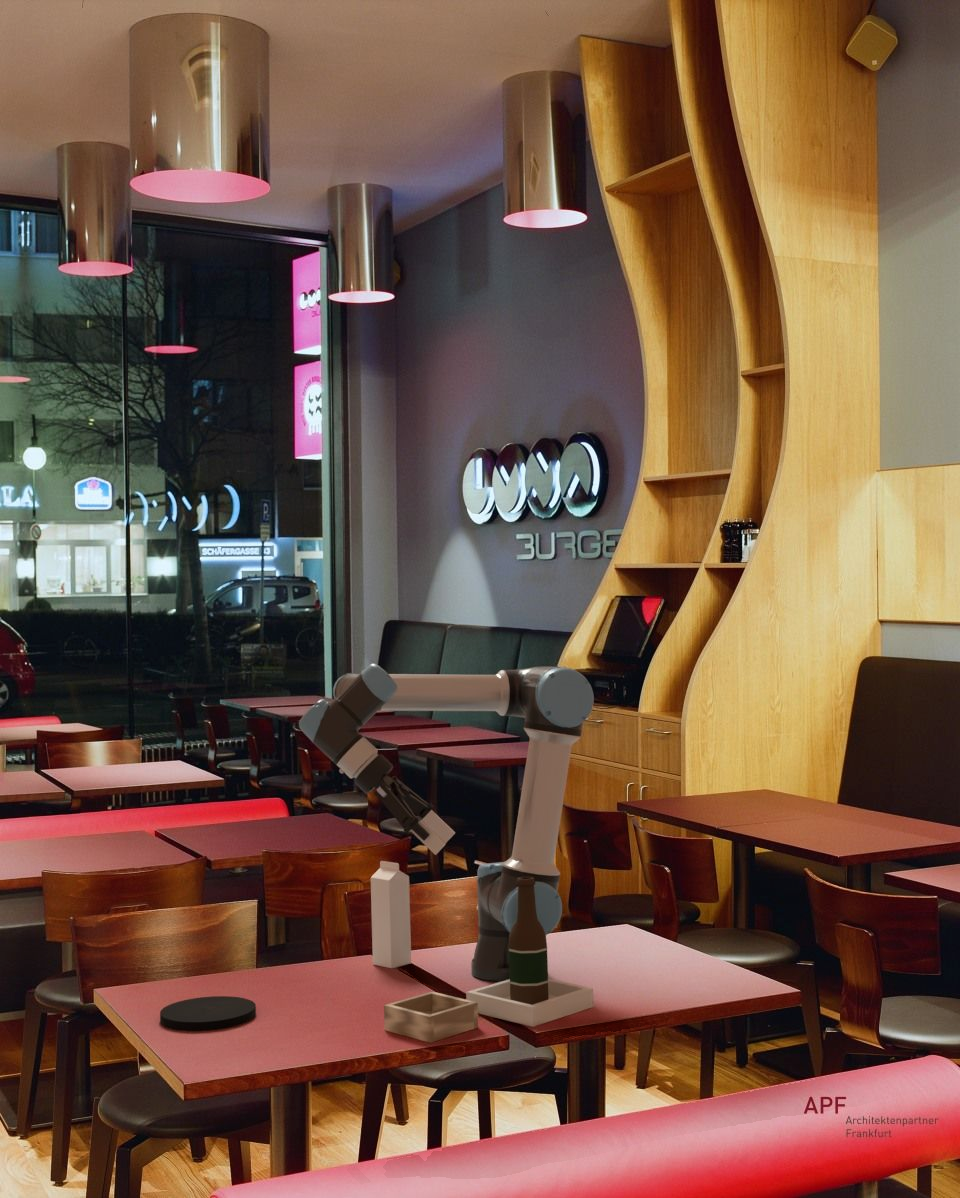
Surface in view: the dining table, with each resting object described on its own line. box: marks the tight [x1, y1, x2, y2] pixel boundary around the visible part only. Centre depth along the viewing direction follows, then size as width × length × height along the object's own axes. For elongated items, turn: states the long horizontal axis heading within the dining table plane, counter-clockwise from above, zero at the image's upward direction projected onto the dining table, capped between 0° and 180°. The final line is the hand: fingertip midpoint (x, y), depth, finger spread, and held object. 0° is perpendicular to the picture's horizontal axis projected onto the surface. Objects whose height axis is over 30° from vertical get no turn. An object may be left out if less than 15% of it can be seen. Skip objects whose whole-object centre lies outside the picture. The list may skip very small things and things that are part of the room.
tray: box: [465, 978, 594, 1028], centre depth 266 cm, size 17×17×4 cm
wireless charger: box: [159, 995, 257, 1032], centre depth 266 cm, size 18×18×2 cm
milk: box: [370, 860, 412, 969], centre depth 304 cm, size 6×6×22 cm
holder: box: [383, 991, 479, 1043], centre depth 255 cm, size 12×12×4 cm
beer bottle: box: [509, 877, 549, 1005], centre depth 266 cm, size 8×8×24 cm
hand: (445, 843), depth 268 cm, fingers open, 13 cm apart
